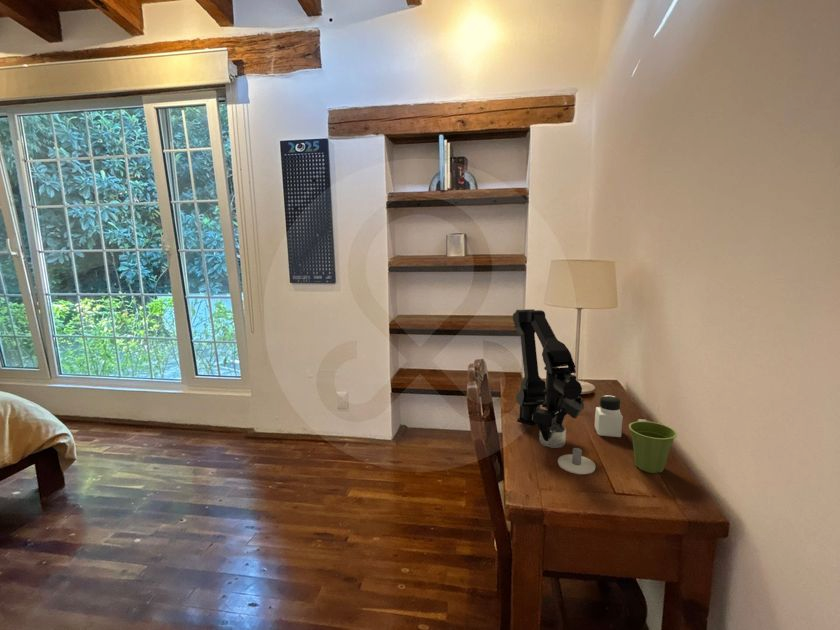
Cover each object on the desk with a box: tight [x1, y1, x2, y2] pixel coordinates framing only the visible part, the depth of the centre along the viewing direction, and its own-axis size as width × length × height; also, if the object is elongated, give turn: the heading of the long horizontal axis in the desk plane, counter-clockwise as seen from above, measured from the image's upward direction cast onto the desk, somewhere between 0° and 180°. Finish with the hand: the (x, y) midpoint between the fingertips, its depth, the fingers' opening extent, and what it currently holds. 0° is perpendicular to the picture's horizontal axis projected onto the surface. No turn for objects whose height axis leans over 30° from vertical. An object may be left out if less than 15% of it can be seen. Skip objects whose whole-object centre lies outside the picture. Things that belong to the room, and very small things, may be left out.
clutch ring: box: [538, 423, 567, 449], centre depth 139 cm, size 7×7×5 cm
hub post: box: [557, 447, 596, 475], centre depth 126 cm, size 10×10×5 cm
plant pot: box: [628, 420, 678, 474], centre depth 124 cm, size 12×12×11 cm
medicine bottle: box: [594, 395, 624, 438], centre depth 146 cm, size 7×7×12 cm
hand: (552, 435), depth 139 cm, fingers open, 9 cm apart
